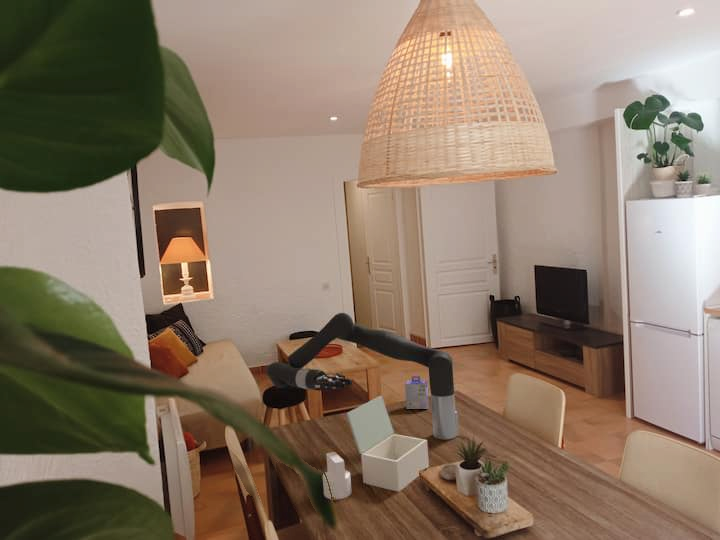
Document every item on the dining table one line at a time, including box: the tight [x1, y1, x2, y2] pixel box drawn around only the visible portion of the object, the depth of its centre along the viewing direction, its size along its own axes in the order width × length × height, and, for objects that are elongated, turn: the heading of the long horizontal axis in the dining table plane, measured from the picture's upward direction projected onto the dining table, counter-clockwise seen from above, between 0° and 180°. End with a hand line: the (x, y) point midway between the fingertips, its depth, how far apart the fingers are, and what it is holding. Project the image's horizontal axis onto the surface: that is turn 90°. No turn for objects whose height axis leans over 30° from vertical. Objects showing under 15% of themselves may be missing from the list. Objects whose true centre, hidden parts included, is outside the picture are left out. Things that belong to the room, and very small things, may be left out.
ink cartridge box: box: [404, 375, 430, 410], centre depth 268 cm, size 10×6×14 cm, turn 78°
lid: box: [345, 395, 395, 455], centre depth 205 cm, size 14×21×1 cm
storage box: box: [360, 433, 430, 493], centre depth 200 cm, size 14×20×10 cm
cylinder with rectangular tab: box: [322, 451, 352, 500], centre depth 191 cm, size 9×9×12 cm
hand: (347, 384), depth 209 cm, fingers open, 3 cm apart
